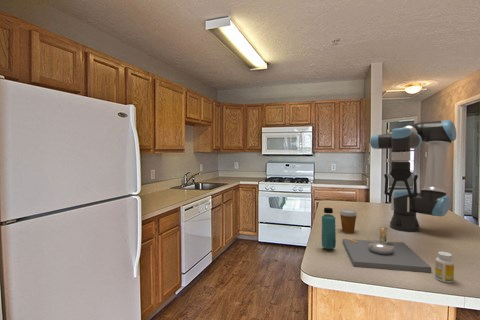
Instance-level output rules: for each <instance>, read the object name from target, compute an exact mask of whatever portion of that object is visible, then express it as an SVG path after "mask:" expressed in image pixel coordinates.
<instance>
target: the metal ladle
mask: <svg viewBox="0 0 480 320" xmlns="http://www.w3.org/2000/svg"><path fill="white" fill-rule="evenodd" d="M387 228H388V227H383V226H382V227H381V226H380V227H379V239H372V240H371V241H369V242H368V249H369V250H370V251H371V252H373V253H376V254H381V255H391V254H393V253H394V245H393V244H392V243H389V242H390V241H388V242H386V241H387V240H388V239H387V238H388V237H387V236H388V234H387V232H388V231H387Z"/></svg>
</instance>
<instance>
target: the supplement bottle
mask: <svg viewBox="0 0 480 320" xmlns="http://www.w3.org/2000/svg"><path fill="white" fill-rule="evenodd" d="M452 259H453V254H452V253H450V252H446V251H438V252H437V257H436V258H435V262H434V264H435V268H434V269H435V272H434V276H435V279H436V280H438V281H440V282H442V283H447V284H450V283H454V281H455V279H454V278H455V262H454V260H452Z"/></svg>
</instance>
